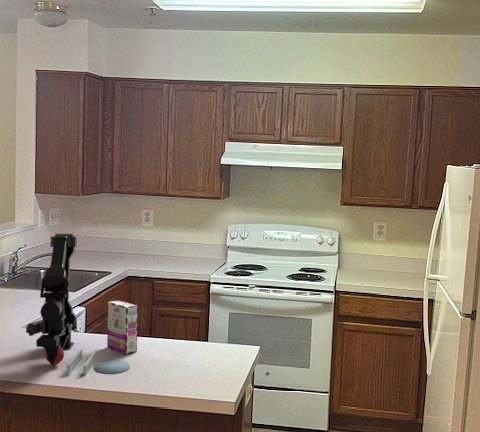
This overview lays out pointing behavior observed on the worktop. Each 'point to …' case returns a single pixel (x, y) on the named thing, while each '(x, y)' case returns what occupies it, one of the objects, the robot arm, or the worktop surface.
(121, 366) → the mat
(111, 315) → the candy bar box
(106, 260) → the worktop surface
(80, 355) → the low walls
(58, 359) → the onion
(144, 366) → the worktop surface
